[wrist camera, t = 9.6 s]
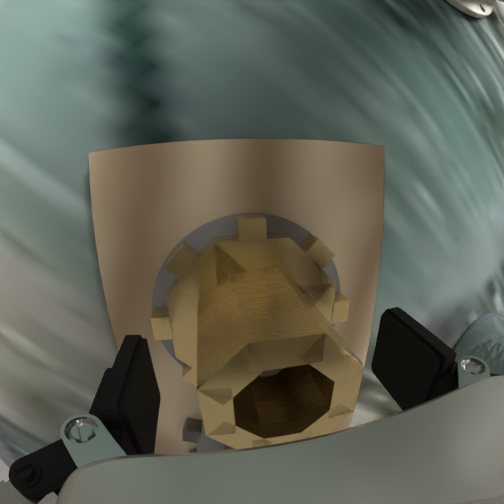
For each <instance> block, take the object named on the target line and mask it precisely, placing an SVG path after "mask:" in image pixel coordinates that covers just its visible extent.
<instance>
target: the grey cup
mask: <svg viewBox="0 0 504 504" xmlns="http://www.w3.org/2000/svg"><path fill="white" fill-rule="evenodd" d="M453 351H455V352H456V353H457V356H456V359H455V361H456V362H457V363H458V360H459V359H460V358H462V357H464V356H475V357H478V358H481V359H482V360H484V361H485V362H486V363H487V365H488V367H489V371H490V373H493V374H499V375H504V318H503V317H500V316H498V315H496V314H493V313H486V314H484V315H482V316H481V317H479V318H478V319H477V320H475V321H474V322H473V323H472V325H471V326H469V327H468V329H467V330H466V331H465V333H464V334H463V335H462V337H461V338H460V340H459V341H458V343H457V345H456V346H455V348H454V350H453Z"/></svg>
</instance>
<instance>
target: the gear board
mask: <svg viewBox="0 0 504 504" xmlns="http://www.w3.org/2000/svg"><path fill="white" fill-rule="evenodd" d="M89 174H90V191H91V204H92V214H93V224H94V232H95V240H96V248H97V254H98V261H99V267H100V273H101V279H102V284H103V289H104V294H105V299H106V304H107V309H108V313H109V317H110V322H111V326H112V330H113V334H114V338H115V342H116V346H117V349H118V352H119V349H120V347H121V345H122V342H123V340H124V337H125V336H126V335H141V336H142V338H146V339H147V342H148V346H149V351H150V355H151V359H152V363H153V368H154V372H155V376H156V379H157V383H158V387H159V391H160V397H161V400H160V408H159V416H158V424H157V433H156V442H155V451H154V454H165V453H193V452H210V451H222V450H233V449H235V448H232V447H230V446H228V445H225V444H223V443H221V442H219V441H216V440H214V439H212V438H210V437H208V436H206V434H205V429H204V424H203V419H202V414H201V409H200V404H199V398H198V393H197V387H196V386H194V385H192V384H191V383H189V382H187V381H186V380H184V379H183V378H182V370H183V364H184V362H182V361H181V360H179V359H178V358H176V356H175V350H174V344H173V339H169V340H154V335H153V329H152V324H151V319H150V318H151V315H152V312H153V309H154V307H167V300H166V295H167V291H168V288H169V286H170V285H171V284H172V283H173V281H174V280H175V279H176V278H177V277H176V276H175V275H174V274H172V273H171V272H170V271H169V270H168V269H166V268H165V265H166V263H167V260H168V259H169V258H170V256H171V255H172V254H173V253H174V252H175V251H176V249H177V248H178V247H179V246H180V245H181V244H182V243H183V241H185V242H186V243H187V244H188V245H190V246H191V247H192V248H193V249H194V250H195V251H197V252H198V253H199V252H200V251H201V250H202V249H203V248H204V246H205V245H206V244H207V243H208V242H209V241H210V240H211V239H212V238H213V236H230V235H236V219H235V216H246V215H262V216H263V217H265V218H266V233H285V234H286V235H287V236H288V237H290V238H291V239H292V240H293V241H294V242H295V243H296V244H297V245H298V246H299V245H300V244H301V243H302V242H303V241H304V240H305V239H306V237H307V236H308V235H309V234H310V233H311V234H312V235H314V236H316V237H317V238H319V239H320V240H321V241H322V242H323V243H324V244H325V245H326V246H327V247H328V248H329V249H330V250H331V251H332V253H333V254H334V255H335V256H334V257H333V258H332V259H331V260H330V261H329V263H328V264H327V265H326V266H325V267H324V268H323V269H322V270H323V271H324V272H325V273H326V274H327V275H328V276H329V277H330V278H331V279H332V280H333V281H334V282H335V283H336V284H335V292H341V293H342V294H344V295H345V296H346V297H347V298H348V299H349V300H350V304H349V313H348V321H344V322H338V323H332V326H333V327H334V329H335V330H336V331H337V332H338V334H339V335H340V336H341V337H342V338H343V340H344V341H345V342H346V343H347V345H348V346H349V347H350V348H351V350H352V351H353V352H354V353H355V354H356V356H357V357H358V358H359V359H360V361H361V362H362V363H363V364H364V365H365V361H366V355H367V350H368V345H369V339H370V334H371V328H372V322H373V315H374V308H375V301H376V294H377V286H378V277H379V268H380V257H381V246H382V231H383V213H384V146H381V145H372V144H363V143H352V142H339V141H324V140H304V139H216V140H196V141H181V142H168V143H157V144H147V145H138V146H130V147H122V148H115V149H108V150H101V151H95V152H89ZM282 369H283V368H279V369H272V370H264V371H263V372H262V373H261V374H260V375H258V376H259V377H269V376H273V375H275V374H277V373H279V372H280V371H281V370H282ZM352 416H353V412H352V413H351V414H350V415H349V416H348V417H347V418H345V419H344V420H343V421H342V422H340V423H339V424H338V425H337V426H335V427H334V428H333V429H332V430H330V431H329V432H328V433H332V432H336V431H340V430H344V429H348V428H349V427H350V423H351V419H352ZM328 433H326V434H328Z"/></svg>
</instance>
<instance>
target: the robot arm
mask: <svg viewBox="0 0 504 504" xmlns="http://www.w3.org/2000/svg"><path fill="white" fill-rule="evenodd" d="M446 1H448V2H449V3H450V4H451V5H453V6H454V7H456V8H457V9H459V10H460V11H462V12H464V13H466V14H468V15H470V16H472V17H476V18H483V17H485V16H488V15H490V14H491V13H492V10H493V1H495V0H446ZM499 1H502V2H504V0H499ZM456 356H457V353H456V352H455V351H453V350H452V349H451V348H450V347H448V346H447V345H446V344H445V343H444V342H442V341H441V340H440V339H439V338H437V337H436V336H435V335H434V334H432V333H431V332H430V331H429V330H427V329H426V328H425V327H424V326H422V325H421V324H420V323H419V322H417V321H416V320H415V319H413V318H412V317H411V316H410V315H408V314H407V313H406V312H404V311H403V310H402V309H401V308H399V307H396V308H391V309H387V310H385V312H384V313H383V314H382V316H381V320H380V326H379V331H378V337H377V342H376V347H375V351H374V356H373V361H372V371H373V373H374V374H375V376H376V377H377V378H378V380H379V381H380V382H381V383H382V385H383V386H384V387H385V388H386V390H387V391H388V392H389V393H390V395H391V396H392V397H393V399H394V400H395V401H396V402H397V404H398V405H399V406H400V408H401V409H402V410H403V411H401V412H399V413H396V414H393V415H390V416H387V417H384V418H381V419H378V420H375V421H372V422H368V423H365V424H362V425H358V426H355V427H351V428H348V429H344V430H340V431H336V432H332V433H328V434H324V435H320V436H315V437H311V438H306V439H301V440H296V441H290V442H285V443H279V444H273V445H266V446H259V447H252V448H243V449H233V450H222V451H210V452H193V453H165V454H154V451H155V442H156V433H157V424H158V416H159V408H160V400H161V397H160V391H159V387H158V383H157V379H156V376H155V372H154V368H153V363H152V359H151V355H150V351H149V346H148V342H147V339H146V338H142V336H141V335H126V336H125V337H124V340H123V342H122V345H121V347H120V349H119V352H118V354H117V357H116V359H115V362H114V364H113V367H112V368H108V369H106V371H105V373H104V376H103V378H102V381H101V383H100V386H99V388H98V391H97V393H96V396H95V398H94V401H93V404H92V406H91V409H90V412H89V414H86V413H83V414H76V415H73V416H71V417H69V418H68V419H66V420H65V421H64V422H63V424H62V426H61V428H60V435H61V438H62V439H60V440H58V441H56V442H54V443H52V444H50V445H48V446H46V447H44V448H42V449H39V450H37V451H35V452H33V453H31V454H29V455H27V456H24V457H22V458H20V459H18V460H17V461H15V462H14V463H13V464H12V465H11V467H10V470H9V479H10V480H8V481H7V482H6V483H5V482H4V481H3V480H2V481H1V482H0V504H504V375H499V374H493V373H490V371H489V367H488V365H487V363H486V362H485V361H484V360H482V359H481V358H478V357H475V356H464V357H462V358H460V359H459V360H458V363H457V362H456V361H455V359H456Z"/></svg>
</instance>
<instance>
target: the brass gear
mask: <svg viewBox="0 0 504 504" xmlns="http://www.w3.org/2000/svg"><path fill="white" fill-rule="evenodd" d="M235 219H236V235H230V236H213V238H212V239H211V240H210V241H209V242H208V243H207V244H206V245H205V246H204V248H203V249H202V250H201V251H200V252H199V253H198V252H197V251H195V250H194V249H193V248H192V247H191V246H190V245H188V244H187V243H186V242H185V241H183V243H182V244H181V245H180V246H179V247H178V248H177V249H176V251H175V252H174V253H173V254H172V255H171V256H170V258H169V259H168V260H167V263H166V265H165V268H166V269H168V270H169V271H170V272H171V273H172V274H174V275H175V276H176V277H177V278H176V279H175V280H174V281H173V283H172V284H171V285H170V286H169V288H168V291H167V295H166V300H167V307H154V309H153V312H152V315H151V318H150V319H151V324H152V329H153V335H154V340H169V339H173V344H174V350H175V356H176V358H178V359H179V360H181V361H182V362H184V364H183V370H182V378H183V379H184V380H186V381H187V382H189V383H191V384H192V385H194V386H196V387H197V393H198V398H199V404H200V409H201V414H202V419H203V424H204V429H205V434H206V436H208V437H210V438H212V439H214V440H216V441H219V442H221V443H223V444H225V445H228V446H230V447H232V448H235V449H243V448H252V447H259V446H266V445H273V444H279V443H285V442H290V441H296V440H301V439H306V438H311V437H315V436H320V435H324V434H326V433H328V432H329V431H330V430H332V429H333V428H334V427H335V426H337V425H338V424H339V423H340V422H342V421H343V420H344V419H345V418H347V417H348V416H349V415H350V414H351V413H352V412H354V408H355V404H356V400H357V396H358V392H359V388H360V384H361V379H362V375H363V370H364V364H363V363H362V362H361V361H360V359H359V358H358V357H357V356H356V354H355V353H354V352H353V351H352V350H351V348H350V347H349V346H348V345H347V343H346V342H345V341H344V340H343V338H342V337H341V336H340V335H339V334H338V332H337V331H336V330H335V329H334V327H333V326H332V323H338V322H344V321H348V313H349V304H350V300H349V299H348V298H347V297H346V296H345V295H344V294H342V293H341V292H335V284H336V283H335V282H334V281H333V280H332V279H331V278H330V277H329V276H328V275H327V274H326V273H325V272H324V271H323V270H322V269H323V268H324V267H325V266H326V265H327V264H328V263H329V261H330V260H331V259H332V258H333V257H334V256H335V255H334V254H333V253H332V251H331V250H330V249H329V248H328V247H327V246H326V245H325V244H324V243H323V242H322V241H321V240H320V239H319V238H317V237H316V236H314V235H312V234H311V233H310V234H309V235H308V236H307V237H306V239H305V240H304V241H303V242H302V243H301V244H300V245H299V246H298V245H297V244H296V243H295V242H294V241H293V240H292V239H291V238H290V237H288V236H287V235H286V234H285V233H266V218H265V217H263V216H262V215H246V216H235ZM279 368H283V369H282V370H281V371H280V372H279V373H277V374H275V375H273V376H269V377H259V376H258V375H260V374H261V373H262V372H263V371H264V370H272V369H279Z"/></svg>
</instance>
